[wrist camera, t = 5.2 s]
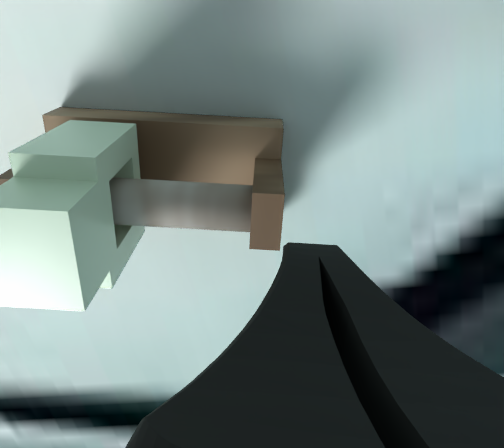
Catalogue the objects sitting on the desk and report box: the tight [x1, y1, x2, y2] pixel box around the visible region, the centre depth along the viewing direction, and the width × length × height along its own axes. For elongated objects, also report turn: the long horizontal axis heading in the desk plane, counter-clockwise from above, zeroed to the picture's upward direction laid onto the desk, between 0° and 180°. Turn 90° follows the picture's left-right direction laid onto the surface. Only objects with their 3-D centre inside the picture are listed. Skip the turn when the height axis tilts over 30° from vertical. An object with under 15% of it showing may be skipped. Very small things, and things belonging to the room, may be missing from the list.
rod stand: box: [0, 107, 285, 251], centre depth 15 cm, size 9×4×5 cm, turn 88°
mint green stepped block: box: [0, 120, 145, 311], centre depth 13 cm, size 2×4×6 cm, turn 177°
